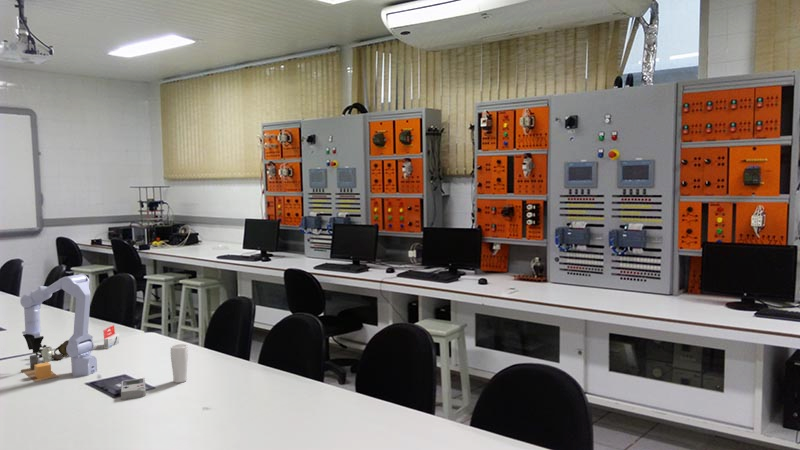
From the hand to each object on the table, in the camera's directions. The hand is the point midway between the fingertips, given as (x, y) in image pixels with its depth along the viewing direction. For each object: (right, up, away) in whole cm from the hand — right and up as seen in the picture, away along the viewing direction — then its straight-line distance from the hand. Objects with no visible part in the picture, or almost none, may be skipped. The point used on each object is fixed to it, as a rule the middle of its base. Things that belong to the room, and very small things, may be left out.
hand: (33, 350), depth 260 cm
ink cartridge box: (+14, -7, +42) cm, 45 cm away
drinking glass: (+71, -10, -14) cm, 73 cm away
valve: (-7, -9, +19) cm, 22 cm away
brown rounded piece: (-1, -8, +24) cm, 25 cm away
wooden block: (+6, -10, -6) cm, 13 cm away
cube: (+10, -9, -10) cm, 17 cm away
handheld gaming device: (+57, -11, -27) cm, 64 cm away
